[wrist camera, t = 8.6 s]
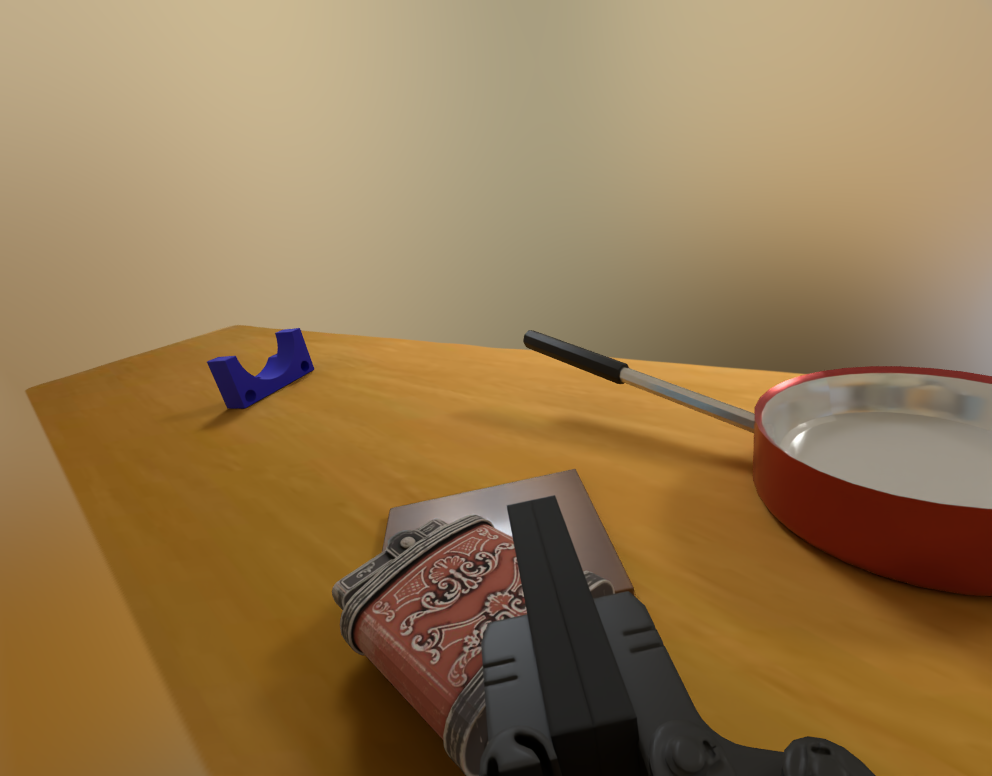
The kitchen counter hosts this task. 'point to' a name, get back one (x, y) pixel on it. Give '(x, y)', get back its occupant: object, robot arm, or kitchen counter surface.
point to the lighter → (438, 621)
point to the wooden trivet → (493, 500)
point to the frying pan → (862, 462)
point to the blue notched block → (276, 374)
